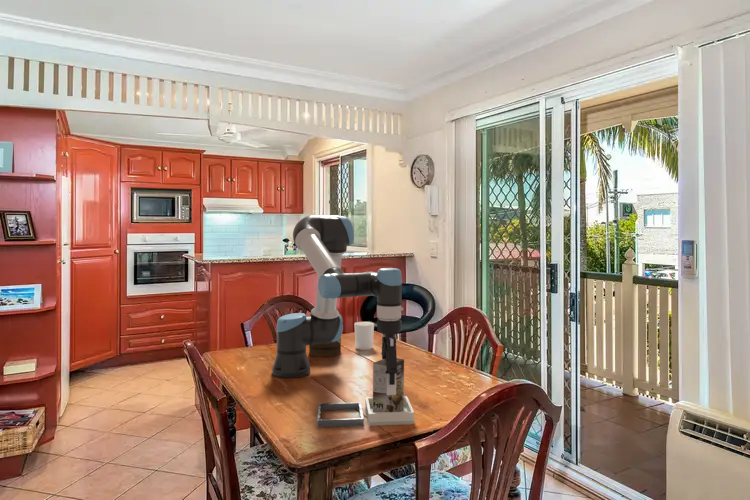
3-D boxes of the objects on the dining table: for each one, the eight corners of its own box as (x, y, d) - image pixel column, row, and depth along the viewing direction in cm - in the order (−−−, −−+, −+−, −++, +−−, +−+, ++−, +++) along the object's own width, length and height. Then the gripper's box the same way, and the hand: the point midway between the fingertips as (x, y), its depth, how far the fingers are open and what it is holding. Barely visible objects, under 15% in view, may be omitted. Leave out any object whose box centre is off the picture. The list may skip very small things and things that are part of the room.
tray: (368, 425, 135) (368, 413, 135) (365, 408, 149) (365, 397, 149) (414, 424, 137) (414, 412, 136) (407, 406, 150) (407, 396, 150)
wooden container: (345, 355, 213) (345, 307, 213) (313, 358, 208) (313, 309, 207) (335, 347, 227) (335, 303, 226) (305, 350, 221) (305, 305, 221)
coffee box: (390, 419, 137) (390, 366, 137) (371, 414, 141) (372, 362, 140) (404, 409, 145) (405, 358, 144) (387, 405, 149) (387, 355, 148)
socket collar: (317, 427, 134) (317, 420, 134) (318, 409, 148) (318, 403, 147) (363, 425, 135) (363, 419, 135) (361, 408, 149) (361, 402, 149)
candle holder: (373, 350, 222) (374, 325, 222) (353, 350, 222) (353, 325, 222) (374, 345, 232) (374, 321, 232) (354, 345, 232) (354, 321, 232)
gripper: (407, 326, 130) (407, 401, 130) (395, 311, 154) (395, 374, 155) (381, 327, 129) (380, 402, 130) (373, 311, 154) (373, 374, 155)
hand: (388, 386), depth 143 cm, fingers open, 13 cm apart
